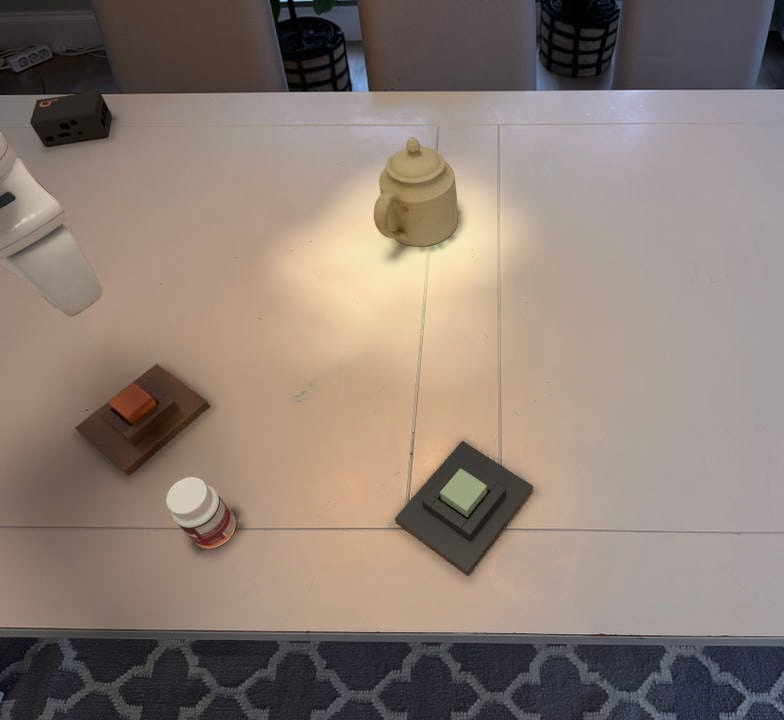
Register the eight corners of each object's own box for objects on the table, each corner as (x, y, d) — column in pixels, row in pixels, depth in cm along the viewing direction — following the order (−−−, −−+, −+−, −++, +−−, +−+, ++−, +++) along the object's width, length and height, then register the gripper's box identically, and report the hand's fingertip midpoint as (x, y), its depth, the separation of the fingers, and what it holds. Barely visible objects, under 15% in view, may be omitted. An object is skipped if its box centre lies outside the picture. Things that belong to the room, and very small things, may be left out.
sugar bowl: (456, 265, 98) (449, 180, 86) (380, 266, 98) (363, 182, 86) (459, 198, 107) (453, 113, 95) (390, 199, 107) (375, 115, 95)
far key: (132, 425, 79) (126, 417, 78) (114, 410, 81) (107, 402, 79) (157, 404, 81) (151, 396, 80) (139, 390, 82) (133, 382, 81)
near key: (467, 518, 71) (466, 510, 69) (440, 499, 72) (439, 492, 71) (487, 492, 73) (487, 485, 71) (461, 475, 74) (460, 467, 73)
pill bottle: (185, 527, 74) (153, 493, 67) (223, 500, 76) (196, 464, 69) (205, 558, 72) (174, 526, 65) (244, 530, 74) (219, 496, 67)
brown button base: (128, 476, 78) (116, 463, 76) (79, 432, 82) (66, 419, 80) (210, 406, 84) (201, 392, 81) (160, 368, 88) (151, 354, 85)
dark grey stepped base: (468, 576, 70) (467, 565, 67) (395, 522, 74) (392, 511, 71) (533, 490, 75) (534, 478, 73) (462, 445, 79) (461, 432, 77)
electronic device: (108, 138, 120) (94, 112, 116) (45, 147, 118) (29, 122, 114) (112, 115, 124) (99, 90, 120) (51, 124, 123) (36, 99, 119)
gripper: (-122, 163, 59) (-26, 274, 70) (-1, 255, 52) (87, 365, 63) (-53, 129, 63) (30, 241, 73) (72, 211, 55) (144, 323, 66)
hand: (57, 298), depth 68 cm, fingers closed
